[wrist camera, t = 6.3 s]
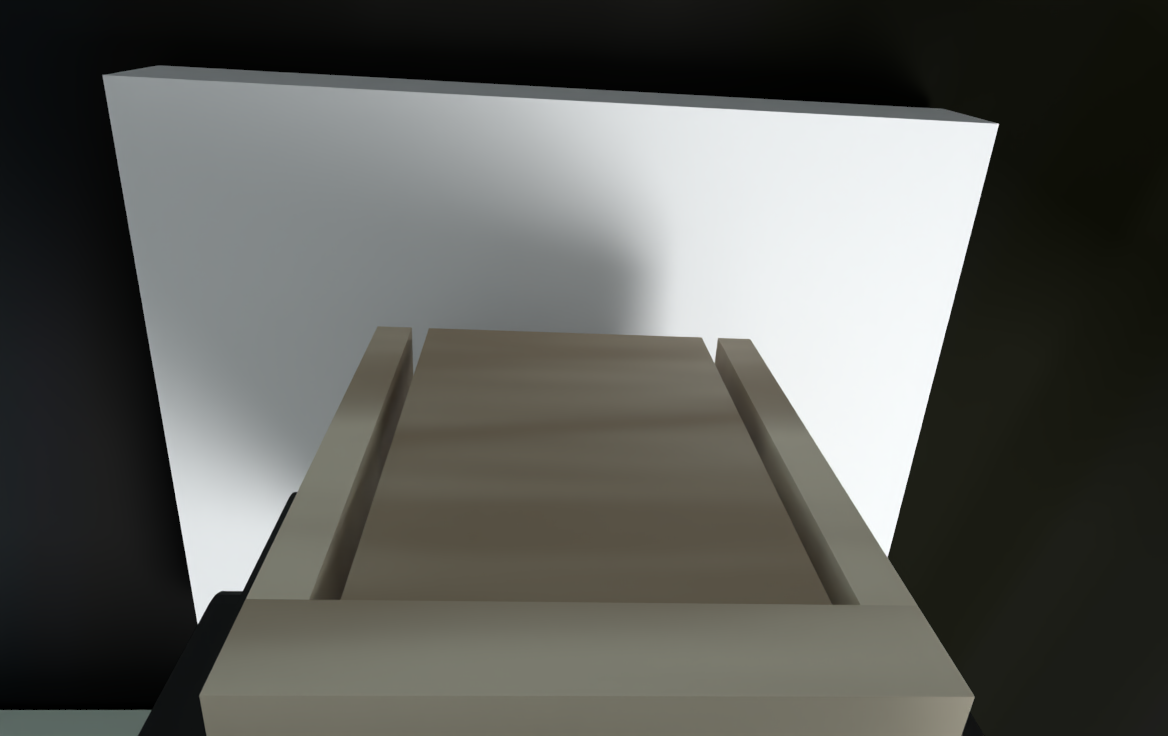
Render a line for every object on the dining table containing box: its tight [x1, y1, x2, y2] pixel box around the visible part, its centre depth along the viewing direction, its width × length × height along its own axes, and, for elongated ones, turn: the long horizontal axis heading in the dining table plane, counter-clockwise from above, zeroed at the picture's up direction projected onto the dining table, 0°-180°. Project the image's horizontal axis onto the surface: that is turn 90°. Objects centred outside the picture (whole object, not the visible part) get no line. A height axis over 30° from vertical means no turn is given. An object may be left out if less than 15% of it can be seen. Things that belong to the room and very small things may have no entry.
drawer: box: [199, 326, 975, 736], centre depth 10 cm, size 6×6×8 cm
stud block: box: [103, 65, 999, 623], centre depth 14 cm, size 14×12×7 cm
